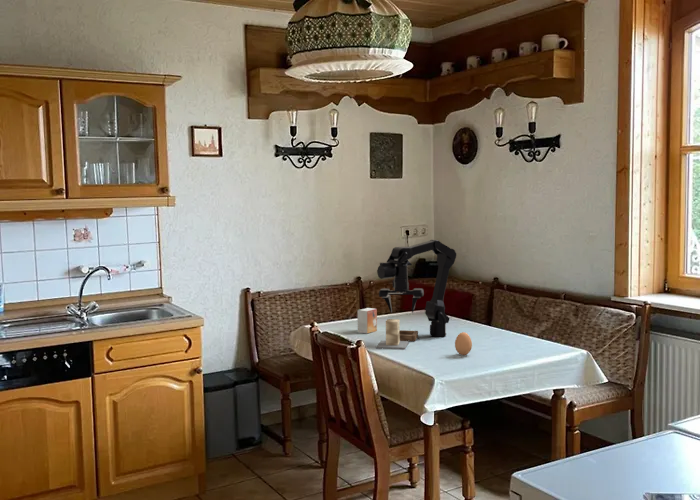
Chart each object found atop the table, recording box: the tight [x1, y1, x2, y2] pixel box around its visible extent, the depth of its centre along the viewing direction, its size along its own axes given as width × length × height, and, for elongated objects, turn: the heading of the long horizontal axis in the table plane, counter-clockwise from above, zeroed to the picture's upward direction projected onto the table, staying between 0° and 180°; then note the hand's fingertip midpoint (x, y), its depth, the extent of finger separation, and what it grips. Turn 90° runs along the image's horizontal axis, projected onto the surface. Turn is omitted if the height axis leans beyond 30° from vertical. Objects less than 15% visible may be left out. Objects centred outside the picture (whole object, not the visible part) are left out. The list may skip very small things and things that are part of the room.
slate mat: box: [375, 339, 410, 350], centre depth 300 cm, size 12×12×1 cm
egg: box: [454, 331, 473, 356], centre depth 282 cm, size 7×7×9 cm
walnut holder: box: [400, 330, 419, 342], centre depth 314 cm, size 10×10×2 cm
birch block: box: [385, 318, 400, 345], centre depth 300 cm, size 5×5×10 cm
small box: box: [357, 307, 378, 334], centre depth 330 cm, size 8×6×10 cm
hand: (401, 312), depth 308 cm, fingers open, 9 cm apart
